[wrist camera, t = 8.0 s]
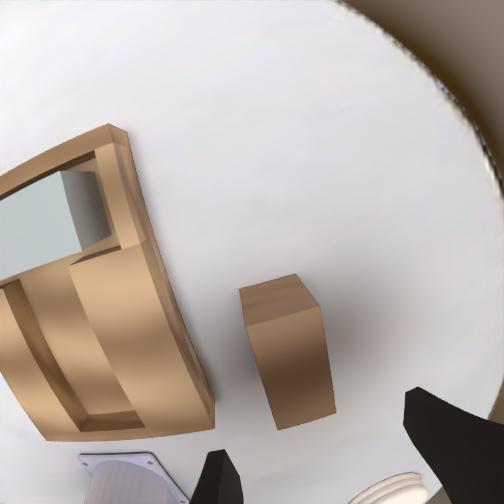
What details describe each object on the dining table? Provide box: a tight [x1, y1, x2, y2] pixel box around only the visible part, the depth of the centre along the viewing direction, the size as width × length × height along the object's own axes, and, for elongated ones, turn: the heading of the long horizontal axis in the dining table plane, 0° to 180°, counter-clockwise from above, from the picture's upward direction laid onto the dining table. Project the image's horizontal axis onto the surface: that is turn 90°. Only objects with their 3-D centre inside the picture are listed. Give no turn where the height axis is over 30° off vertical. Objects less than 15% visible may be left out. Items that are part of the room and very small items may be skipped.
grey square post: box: [0, 171, 112, 280], centre depth 13 cm, size 4×10×4 cm, turn 105°
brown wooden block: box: [239, 274, 336, 430], centre depth 17 cm, size 7×3×5 cm, turn 14°
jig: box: [0, 123, 215, 442], centre depth 16 cm, size 18×14×3 cm
